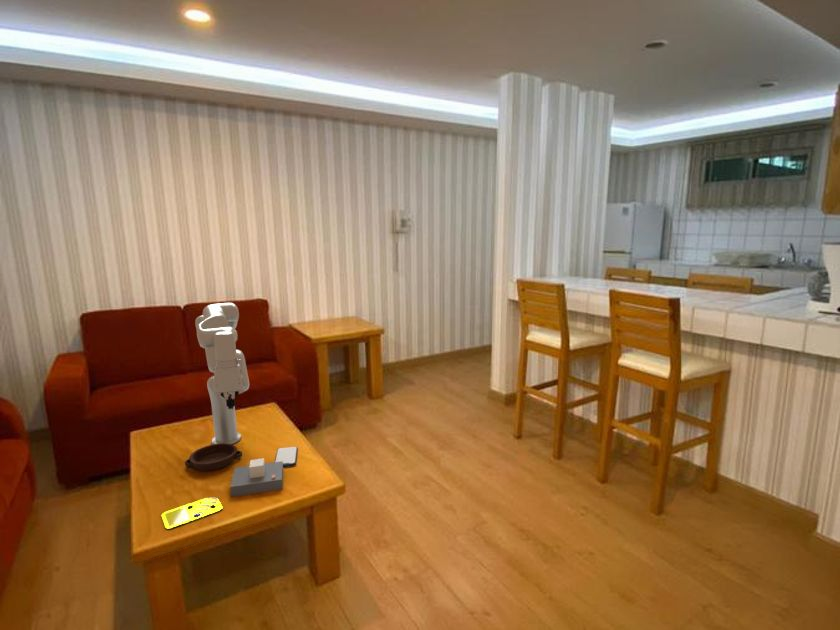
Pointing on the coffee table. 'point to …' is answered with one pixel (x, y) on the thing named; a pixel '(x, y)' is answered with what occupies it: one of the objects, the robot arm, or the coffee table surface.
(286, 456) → the smartphone
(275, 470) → the socket
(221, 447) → the dish
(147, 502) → the coffee table surface
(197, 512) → the game console
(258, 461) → the plug
